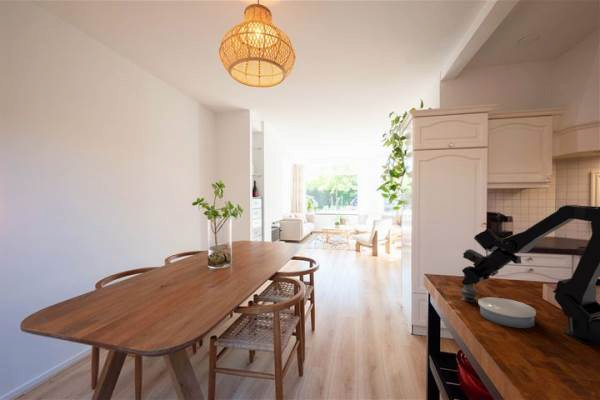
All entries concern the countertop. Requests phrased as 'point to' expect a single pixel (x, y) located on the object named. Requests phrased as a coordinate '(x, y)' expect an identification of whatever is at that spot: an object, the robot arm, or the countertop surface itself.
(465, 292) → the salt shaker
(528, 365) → the countertop surface
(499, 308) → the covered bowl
